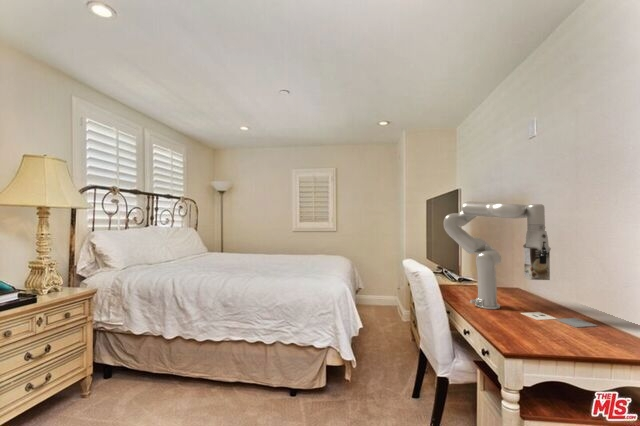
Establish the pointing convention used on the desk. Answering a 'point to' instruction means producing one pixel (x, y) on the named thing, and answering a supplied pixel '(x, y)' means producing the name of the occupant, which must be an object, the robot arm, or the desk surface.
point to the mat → (576, 322)
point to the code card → (538, 316)
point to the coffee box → (535, 265)
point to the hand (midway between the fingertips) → (536, 262)
